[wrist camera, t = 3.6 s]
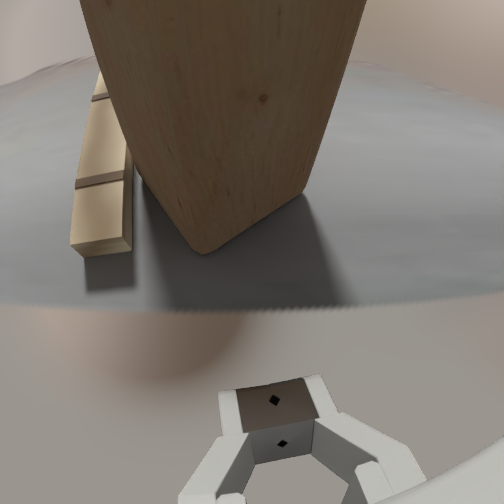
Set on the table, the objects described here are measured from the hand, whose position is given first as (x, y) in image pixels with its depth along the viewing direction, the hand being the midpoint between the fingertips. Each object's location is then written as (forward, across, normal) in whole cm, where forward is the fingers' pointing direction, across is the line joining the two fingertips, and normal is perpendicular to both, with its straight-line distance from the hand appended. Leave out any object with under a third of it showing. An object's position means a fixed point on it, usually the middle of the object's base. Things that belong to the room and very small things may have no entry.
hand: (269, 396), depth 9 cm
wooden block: (+19, 0, -3) cm, 19 cm away
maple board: (+23, +9, -7) cm, 25 cm away
